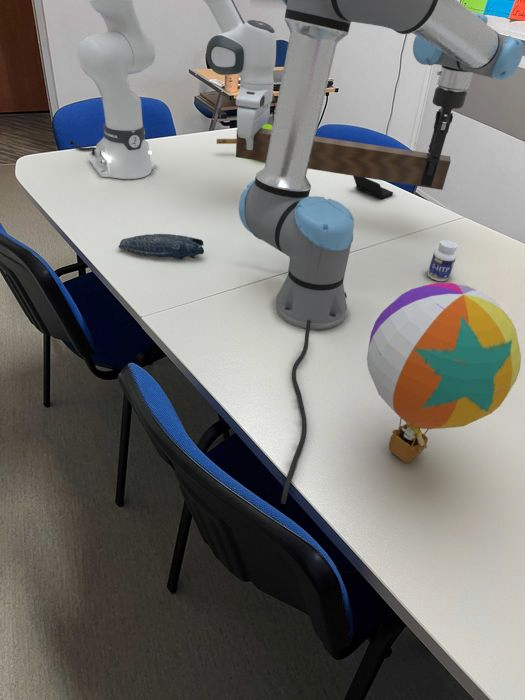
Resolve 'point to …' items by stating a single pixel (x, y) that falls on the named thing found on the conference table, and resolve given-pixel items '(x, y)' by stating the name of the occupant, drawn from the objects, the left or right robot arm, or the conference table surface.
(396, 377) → the toy
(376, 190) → the handheld gaming console
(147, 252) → the fish model
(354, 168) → the bar
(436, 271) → the pill bottle
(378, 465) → the conference table surface
